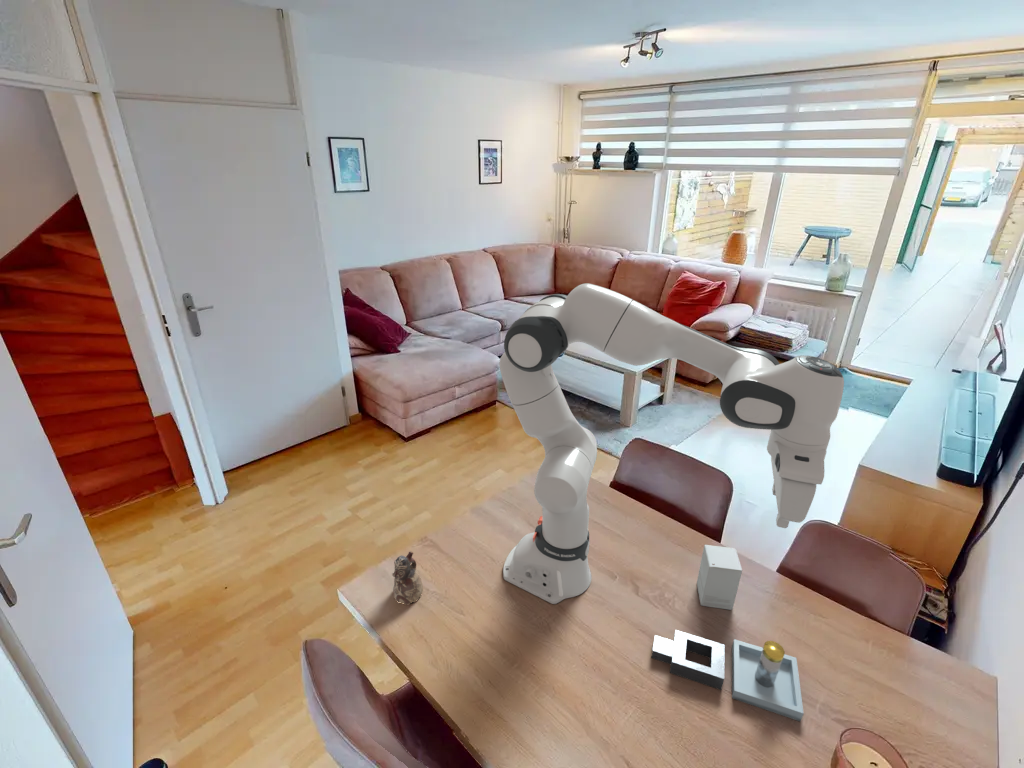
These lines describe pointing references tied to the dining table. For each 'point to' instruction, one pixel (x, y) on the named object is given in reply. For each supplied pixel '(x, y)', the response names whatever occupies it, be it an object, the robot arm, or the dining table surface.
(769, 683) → the small capped bottle
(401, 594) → the figurine
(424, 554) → the dining table surface
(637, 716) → the dining table surface
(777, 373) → the robot arm
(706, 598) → the supplement box
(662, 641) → the block
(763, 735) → the dining table surface
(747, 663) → the parts tray
